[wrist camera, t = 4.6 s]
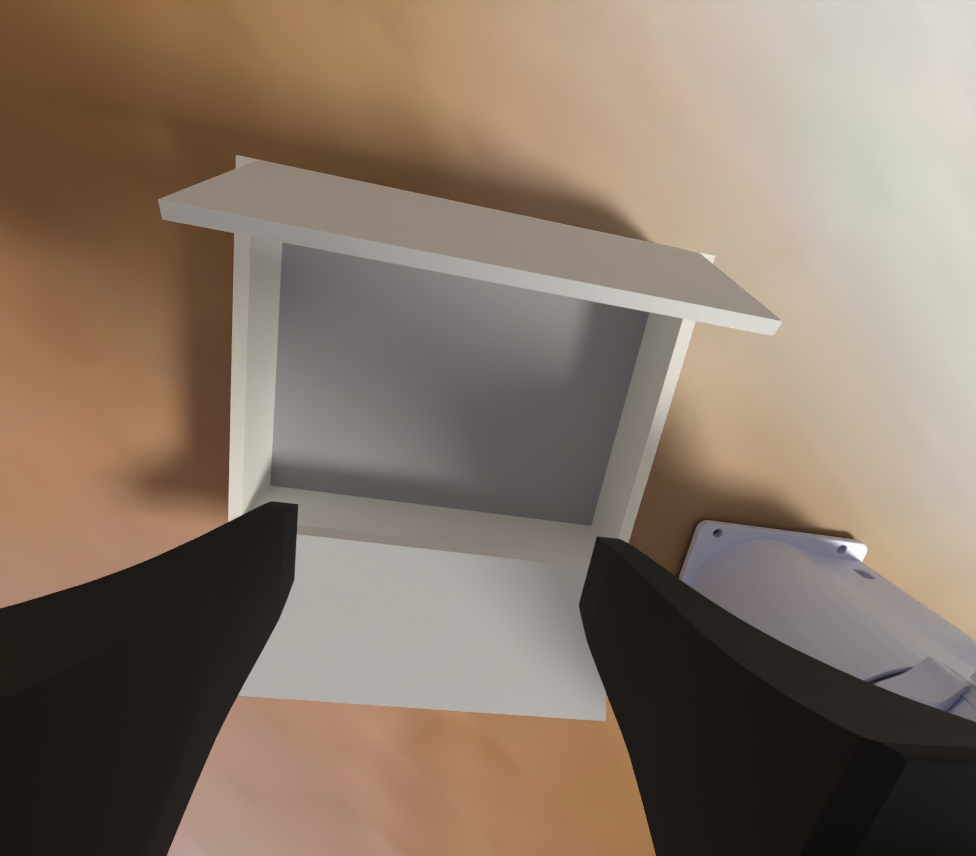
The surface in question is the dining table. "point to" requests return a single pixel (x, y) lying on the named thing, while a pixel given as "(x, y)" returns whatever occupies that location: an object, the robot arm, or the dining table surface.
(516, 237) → the near flap
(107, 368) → the dining table surface
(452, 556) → the far flap
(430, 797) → the dining table surface
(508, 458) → the carton
